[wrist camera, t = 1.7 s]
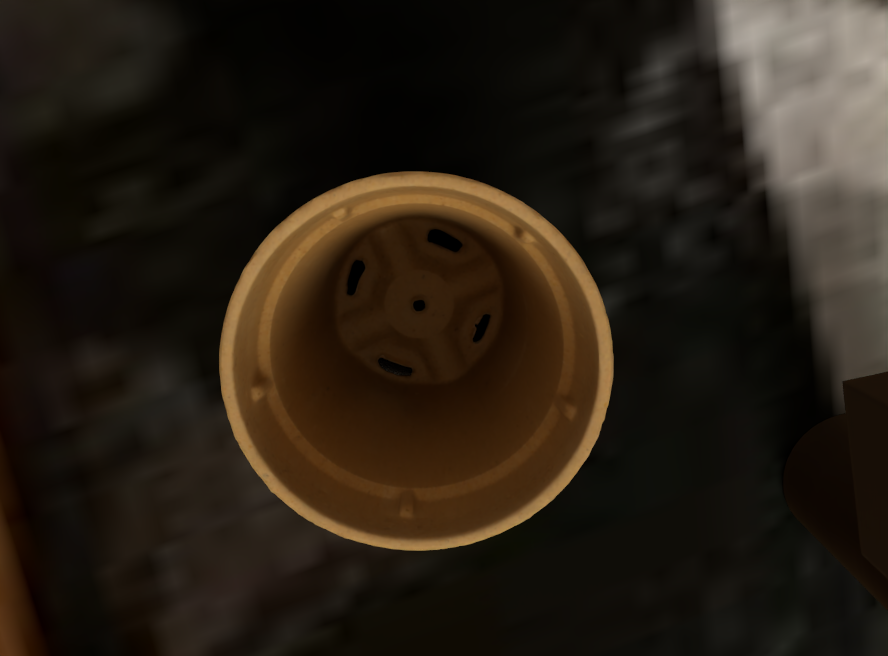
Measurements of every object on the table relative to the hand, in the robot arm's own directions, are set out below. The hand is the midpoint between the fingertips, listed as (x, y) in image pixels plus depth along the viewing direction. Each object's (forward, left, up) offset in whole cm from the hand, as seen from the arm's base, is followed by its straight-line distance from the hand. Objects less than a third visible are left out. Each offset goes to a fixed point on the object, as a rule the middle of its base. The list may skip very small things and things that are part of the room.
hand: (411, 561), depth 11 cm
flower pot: (-1, 0, -16) cm, 16 cm away
